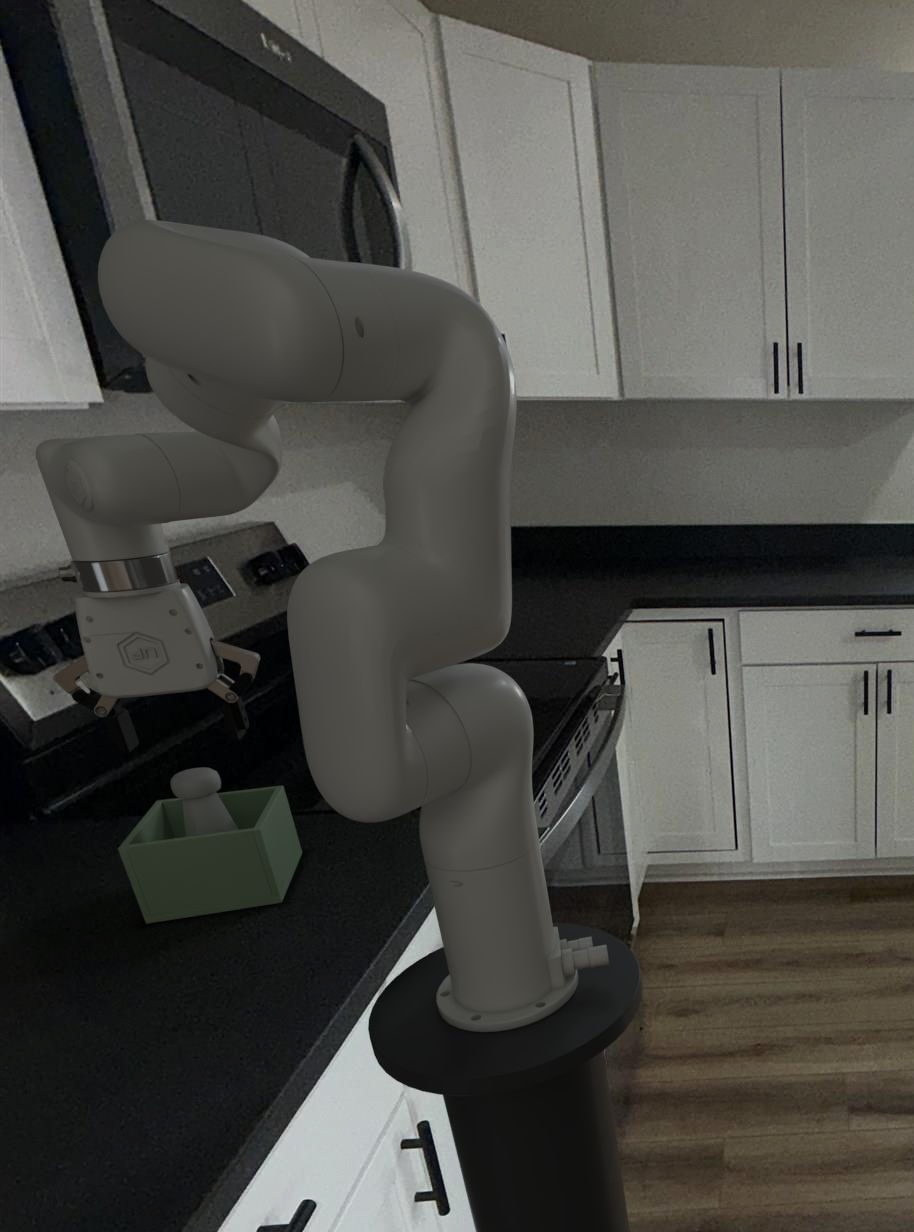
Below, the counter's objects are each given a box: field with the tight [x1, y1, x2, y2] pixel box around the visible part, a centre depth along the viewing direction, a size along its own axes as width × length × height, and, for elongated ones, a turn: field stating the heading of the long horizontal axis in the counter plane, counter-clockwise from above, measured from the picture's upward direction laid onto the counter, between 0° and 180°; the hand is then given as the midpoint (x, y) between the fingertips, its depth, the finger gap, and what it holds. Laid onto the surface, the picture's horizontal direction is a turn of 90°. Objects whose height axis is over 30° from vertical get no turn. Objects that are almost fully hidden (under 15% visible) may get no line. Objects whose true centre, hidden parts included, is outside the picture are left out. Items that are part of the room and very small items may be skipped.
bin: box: [117, 785, 303, 925], centre depth 101 cm, size 12×12×9 cm
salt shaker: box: [169, 766, 238, 837], centre depth 99 cm, size 6×6×13 cm
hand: (185, 742), depth 95 cm, fingers open, 9 cm apart
